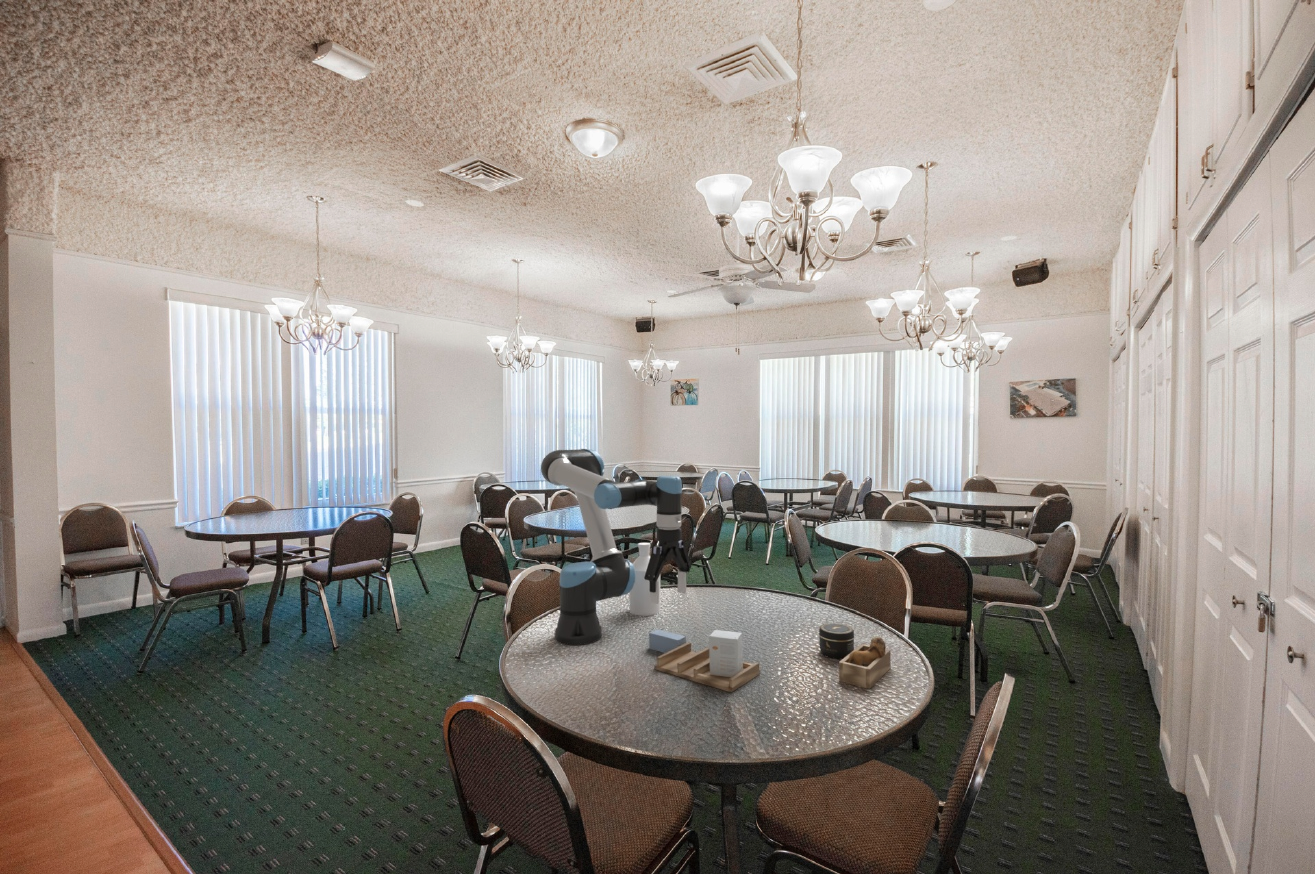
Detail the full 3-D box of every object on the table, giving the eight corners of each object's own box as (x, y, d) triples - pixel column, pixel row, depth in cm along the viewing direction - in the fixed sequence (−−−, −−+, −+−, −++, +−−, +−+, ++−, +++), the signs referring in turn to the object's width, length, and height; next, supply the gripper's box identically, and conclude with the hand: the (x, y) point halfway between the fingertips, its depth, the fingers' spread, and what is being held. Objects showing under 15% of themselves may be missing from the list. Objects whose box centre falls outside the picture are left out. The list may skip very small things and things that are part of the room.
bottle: (622, 610, 220) (621, 543, 220) (646, 604, 228) (645, 539, 228) (643, 617, 211) (642, 548, 211) (667, 610, 219) (666, 543, 219)
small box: (743, 671, 160) (743, 632, 160) (738, 679, 155) (738, 639, 155) (714, 667, 163) (714, 629, 163) (709, 674, 158) (708, 635, 158)
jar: (813, 654, 175) (812, 628, 174) (828, 645, 182) (828, 620, 182) (845, 662, 168) (844, 636, 168) (860, 653, 175) (859, 627, 175)
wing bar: (678, 657, 174) (678, 640, 174) (649, 649, 181) (649, 632, 181) (686, 653, 177) (685, 636, 177) (657, 645, 184) (657, 629, 184)
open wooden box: (839, 681, 155) (839, 662, 155) (861, 661, 169) (861, 643, 169) (869, 688, 150) (869, 669, 150) (890, 667, 164) (890, 649, 164)
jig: (654, 668, 165) (654, 656, 165) (685, 653, 176) (685, 641, 176) (731, 692, 149) (731, 678, 149) (760, 673, 161) (760, 660, 161)
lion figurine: (874, 665, 165) (874, 633, 165) (891, 671, 161) (891, 638, 161) (838, 677, 157) (838, 643, 157) (855, 684, 153) (854, 649, 153)
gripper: (652, 534, 165) (652, 610, 166) (702, 523, 185) (702, 590, 185) (632, 531, 170) (632, 604, 171) (683, 521, 190) (682, 586, 190)
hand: (668, 597), depth 178 cm, fingers open, 13 cm apart
